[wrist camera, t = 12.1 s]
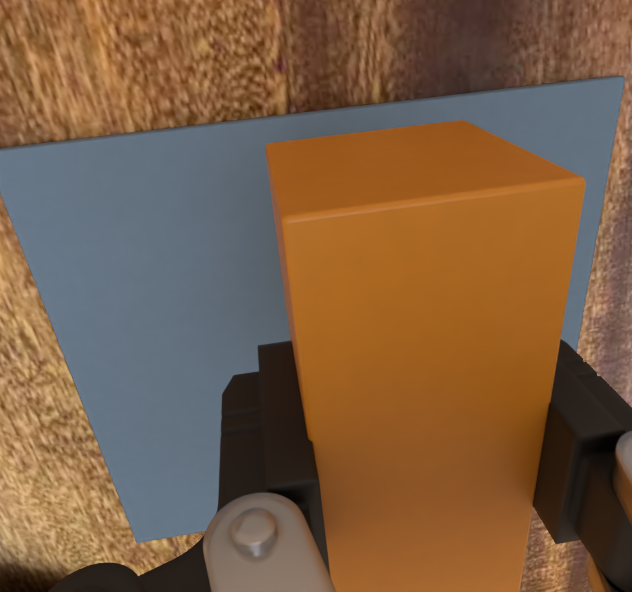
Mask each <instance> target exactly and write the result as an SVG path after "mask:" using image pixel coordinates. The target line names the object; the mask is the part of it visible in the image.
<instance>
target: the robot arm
mask: <svg viewBox="0 0 632 592" xmlns="http://www.w3.org/2000/svg"><path fill="white" fill-rule="evenodd" d="M258 363H259V371H257V372H251V373H244V374H237V375H233V377H232V379H231V380H230V382H229V383H228V385H227V387H226V388H225V390H224V392H223V393H222V409H221V415H222V419H221V438H220V466H219V495H218V508H217V512H216V515H215V516H214V517H213V519H212V520H211V522H210V523H209V525H208V527H207V529H206V532H205V535H204V536H203V537H202V538H201V540H200V541H199V542H198V543H196V544H195V545H194V546H193V547H192V548H191V549H189V550H188V551H187V552H185V553H184V554H182V555H180V556H179V557H177V558H175V559H173V560H171V561H169V562H167V563H165V564H163V565H161V566H159V567H157V568H155V569H153V570H151V571H148V572H146V573H144V574H142V575H140V576H137V574H136V573H135V572H134V571H133V570H131V569H130V568H128V567H126V566H124V565H121V564H117V563H98V564H94V565H90V566H87V567H84V568H82V569H79V570H77V571H75V572H73V573H71V574H69V575H68V576H66V577H65V578H63V579H62V580H60V581H59V582H58V583H57V584H56V585H54V586H53V587H52V588H51V589H50V590H49V591H48V592H336V589H335V587H334V585H333V582H332V580H331V576H330V568H329V559H328V551H327V542H326V534H325V526H324V517H323V509H322V501H321V492H320V484H319V477H318V472H317V466H316V460H315V455H314V449H313V443H312V441H310V440H309V439H308V435H307V429H306V423H305V417H304V411H303V405H302V399H301V393H300V387H299V381H298V376H297V370H296V364H295V358H294V352H293V346H292V341H284V342H277V343H270V344H264V345H258ZM533 507H534V508H535V510H536V512H537V513H538V515H539V517H540V518H541V520H542V522H543V523H544V525H545V527H546V528H547V530H548V532H549V533H550V535H551V537H552V538H553V540H554V542H555V543H556V544H559V543H565V542H570V541H576V540H581V541H582V543H583V544H584V546H585V547H586V549H587V550H588V552H589V555H588V559H587V564H586V574H587V577H588V581H589V584H590V586H591V589H592V592H632V408H631V407H630V406H629V405H628V404H627V403H626V402H625V401H624V400H623V399H622V398H621V397H620V396H619V395H618V394H617V393H616V392H615V391H614V390H613V389H612V387H611V386H610V385H609V384H608V383H607V382H606V381H605V380H604V379H603V378H602V377H601V376H597V372H596V371H595V370H594V369H593V368H592V367H591V366H590V365H589V364H588V363H587V362H583V358H582V357H581V356H580V355H579V354H578V353H577V352H576V351H575V350H574V349H573V348H572V347H571V346H570V345H569V344H568V343H567V342H565V341H563V340H562V339H561V340H560V346H559V352H558V358H557V364H556V370H555V377H554V383H553V389H552V395H551V401H550V403H549V408H548V414H547V420H546V427H545V433H544V439H543V445H542V451H541V457H540V463H539V470H538V476H537V482H536V488H535V494H534V500H533Z"/></svg>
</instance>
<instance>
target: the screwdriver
mask: <svg viewBox="0 0 632 592" xmlns="http://www.w3.org/2000/svg"><path fill="white" fill-rule="evenodd" d="M265 154H266V161H267V168H268V176H269V183H270V191H271V198H272V206H273V213H274V221H275V228H276V236H277V243H278V250H279V258H280V265H281V273H282V280H283V288H284V295H285V303H286V310H287V318H288V325H289V332H290V340H291V341H292V346H293V352H294V358H295V364H296V370H297V376H298V381H299V387H300V393H301V399H302V405H303V411H304V417H305V423H306V429H307V435H308V439H309V440H310V441H312V443H313V449H314V455H315V460H316V466H317V472H318V477H319V484H320V492H321V501H322V509H323V517H324V526H325V534H326V542H327V551H328V559H329V568H330V576H331V580H332V582H333V585H334V587H335V589H336V592H520V586H521V579H522V573H523V567H524V561H525V555H526V549H527V542H528V536H529V530H530V524H531V518H532V512H533V500H534V494H535V488H536V482H537V476H538V470H539V463H540V457H541V451H542V445H543V439H544V433H545V427H546V420H547V414H548V408H549V403H550V401H551V395H552V389H553V383H554V377H555V370H556V364H557V358H558V352H559V346H560V340H561V333H562V327H563V321H564V315H565V309H566V303H567V297H568V290H569V284H570V278H571V272H572V266H573V260H574V254H575V247H576V241H577V235H578V229H579V223H580V217H581V211H582V204H583V198H584V192H585V186H586V183H585V179H584V177H581V176H579V175H577V174H575V173H573V172H571V171H569V170H567V169H565V168H563V167H561V166H559V165H556V164H554V163H552V162H550V161H548V160H546V159H544V158H542V157H540V156H538V155H536V154H533V153H531V152H529V151H527V150H525V149H523V148H521V147H519V146H517V145H515V144H513V143H511V142H508V141H506V140H504V139H502V138H500V137H498V136H496V135H494V134H492V133H490V132H488V131H486V130H483V129H481V128H479V127H477V126H475V125H473V124H471V123H469V122H467V121H464V120H458V121H450V122H441V123H433V124H425V125H416V126H408V127H400V128H391V129H383V130H375V131H366V132H358V133H350V134H341V135H333V136H325V137H316V138H308V139H300V140H292V141H283V142H275V143H269V144H267V145H266V146H265Z"/></svg>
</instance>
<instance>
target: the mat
mask: <svg viewBox="0 0 632 592" xmlns="http://www.w3.org/2000/svg"><path fill="white" fill-rule="evenodd" d="M624 82H625V77H623V76H609V77H600V78H592V79H583V80H575V81H566V82H558V83H549V84H541V85H532V86H524V87H515V88H507V89H498V90H490V91H481V92H473V93H464V94H456V95H447V96H439V97H430V98H422V99H413V100H405V101H396V102H388V103H379V104H371V105H362V106H354V107H345V108H337V109H328V110H320V111H311V112H303V113H294V114H286V115H277V116H269V117H260V118H252V119H243V120H235V121H226V122H218V123H209V124H201V125H192V126H184V127H175V128H167V129H158V130H150V131H141V132H133V133H124V134H116V135H107V136H99V137H90V138H82V139H73V140H65V141H56V142H48V143H39V144H31V145H22V146H14V147H5V148H0V194H1V196H2V199H3V201H4V204H5V207H6V209H7V212H8V214H9V217H10V219H11V222H12V225H13V227H14V230H15V232H16V235H17V237H18V240H19V242H20V245H21V248H22V250H23V253H24V255H25V258H26V260H27V263H28V266H29V268H30V271H31V273H32V276H33V278H34V281H35V283H36V286H37V289H38V291H39V294H40V296H41V299H42V301H43V304H44V307H45V309H46V312H47V314H48V317H49V319H50V322H51V324H52V327H53V330H54V332H55V335H56V337H57V340H58V342H59V345H60V348H61V350H62V353H63V355H64V358H65V360H66V363H67V365H68V368H69V371H70V373H71V376H72V378H73V381H74V383H75V386H76V389H77V391H78V394H79V396H80V399H81V401H82V404H83V406H84V409H85V412H86V414H87V417H88V419H89V422H90V424H91V427H92V430H93V432H94V435H95V437H96V440H97V442H98V445H99V447H100V450H101V453H102V455H103V458H104V460H105V463H106V465H107V468H108V471H109V473H110V476H111V478H112V481H113V483H114V486H115V488H116V491H117V494H118V496H119V499H120V501H121V504H122V506H123V509H124V512H125V514H126V517H127V519H128V522H129V524H130V527H131V529H132V532H133V535H134V537H135V540H136V542H137V543H140V542H146V541H152V540H158V539H164V538H169V537H175V536H181V535H187V534H192V533H198V532H204V531H206V529H207V527H208V525H209V523H210V522H211V520H212V519H213V517H214V516H215V515H216V512H217V508H218V495H219V466H220V438H221V419H222V415H221V409H222V393H223V392H224V390H225V388H226V387H227V385H228V383H229V382H230V380H231V379H232V377H233V375H237V374H244V373H251V372H257V371H259V363H258V345H264V344H270V343H277V342H284V341H291V340H290V332H289V325H288V318H287V310H286V303H285V295H284V288H283V280H282V273H281V265H280V258H279V250H278V243H277V236H276V228H275V221H274V213H273V206H272V198H271V191H270V183H269V176H268V168H267V161H266V154H265V146H266V145H267V144H269V143H275V142H283V141H292V140H300V139H308V138H316V137H325V136H333V135H341V134H350V133H358V132H366V131H375V130H383V129H391V128H400V127H408V126H416V125H425V124H433V123H441V122H450V121H458V120H464V121H467V122H469V123H471V124H473V125H475V126H477V127H479V128H481V129H483V130H486V131H488V132H490V133H492V134H494V135H496V136H498V137H500V138H502V139H504V140H506V141H508V142H511V143H513V144H515V145H517V146H519V147H521V148H523V149H525V150H527V151H529V152H531V153H533V154H536V155H538V156H540V157H542V158H544V159H546V160H548V161H550V162H552V163H554V164H556V165H559V166H561V167H563V168H565V169H567V170H569V171H571V172H573V173H575V174H577V175H579V176H581V177H584V179H585V183H586V186H585V192H584V198H583V204H582V211H581V217H580V223H579V229H578V235H577V241H576V247H575V254H574V260H573V266H572V272H571V278H570V284H569V290H568V297H567V303H566V309H565V315H564V321H563V327H562V333H561V339H562V340H563V341H565V342H567V343H568V344H569V345H570V346H571V347H572V348H573V349H574V350H575V351H577V345H578V340H579V334H580V328H581V323H582V317H583V312H584V306H585V300H586V295H587V289H588V284H589V278H590V273H591V267H592V261H593V256H594V250H595V245H596V239H597V233H598V228H599V222H600V217H601V211H602V205H603V200H604V194H605V189H606V183H607V177H608V172H609V166H610V161H611V155H612V149H613V144H614V138H615V133H616V127H617V122H618V116H619V110H620V105H621V99H622V94H623V88H624Z"/></svg>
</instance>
